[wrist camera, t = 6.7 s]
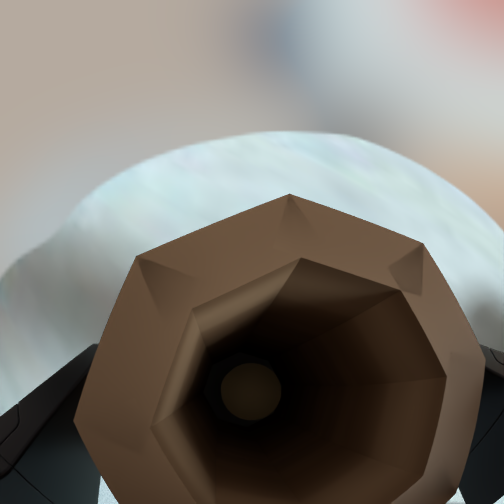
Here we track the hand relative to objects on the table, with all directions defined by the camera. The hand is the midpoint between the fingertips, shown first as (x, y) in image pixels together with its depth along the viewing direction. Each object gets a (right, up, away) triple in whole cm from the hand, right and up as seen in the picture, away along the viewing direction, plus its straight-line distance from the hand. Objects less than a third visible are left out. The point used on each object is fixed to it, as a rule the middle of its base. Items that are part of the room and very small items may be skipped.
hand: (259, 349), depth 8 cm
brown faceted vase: (-1, -5, +7) cm, 8 cm away
